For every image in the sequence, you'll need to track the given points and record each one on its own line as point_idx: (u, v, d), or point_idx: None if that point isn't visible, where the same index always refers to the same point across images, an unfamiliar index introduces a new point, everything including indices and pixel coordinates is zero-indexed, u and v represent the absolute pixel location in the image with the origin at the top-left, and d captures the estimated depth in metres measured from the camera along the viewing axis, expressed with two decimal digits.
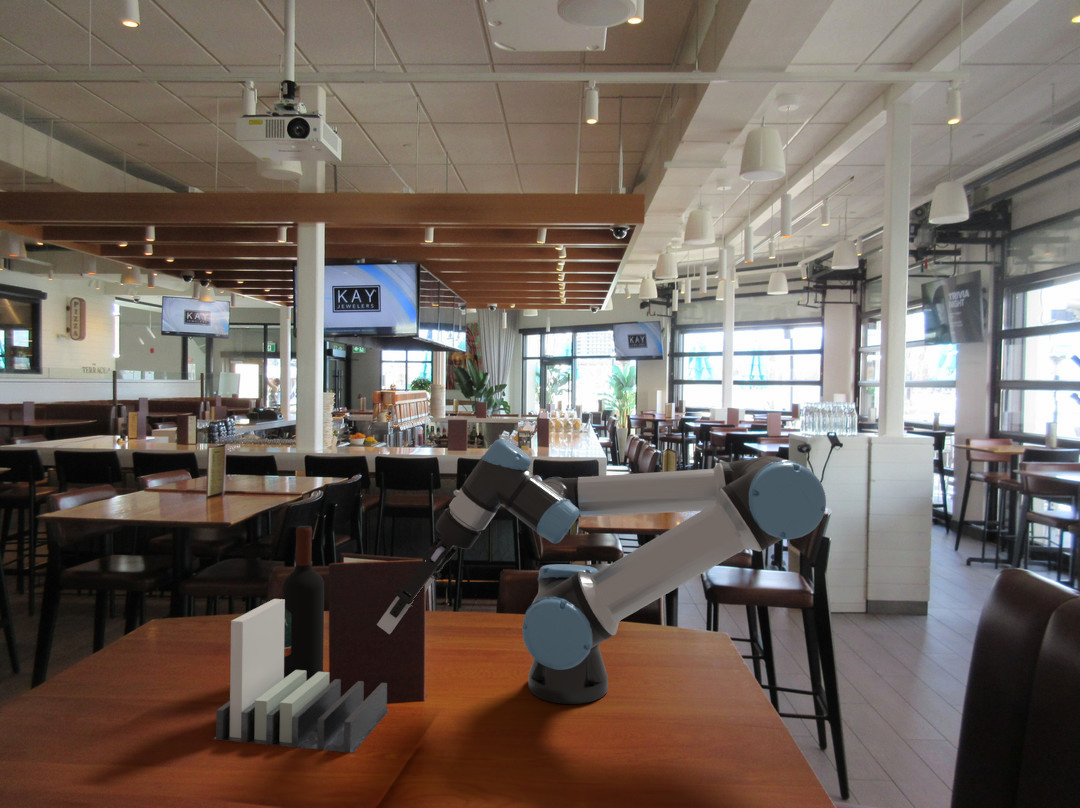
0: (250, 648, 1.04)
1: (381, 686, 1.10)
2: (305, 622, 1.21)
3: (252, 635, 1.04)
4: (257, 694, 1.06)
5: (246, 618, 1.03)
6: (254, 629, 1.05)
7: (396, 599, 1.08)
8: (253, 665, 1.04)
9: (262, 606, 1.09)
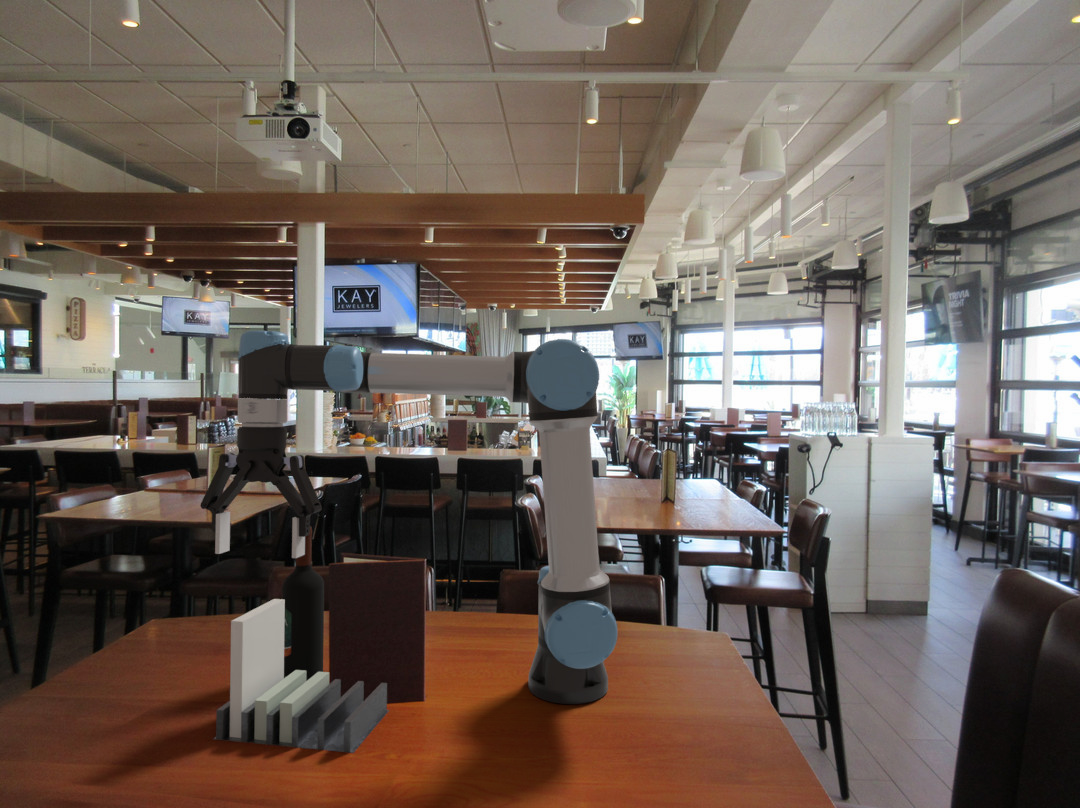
0: (250, 648, 1.04)
1: (381, 686, 1.10)
2: (306, 622, 1.21)
3: (252, 635, 1.04)
4: (257, 694, 1.06)
5: (246, 618, 1.03)
6: (254, 629, 1.05)
7: (297, 523, 1.05)
8: (253, 665, 1.04)
9: (262, 606, 1.09)
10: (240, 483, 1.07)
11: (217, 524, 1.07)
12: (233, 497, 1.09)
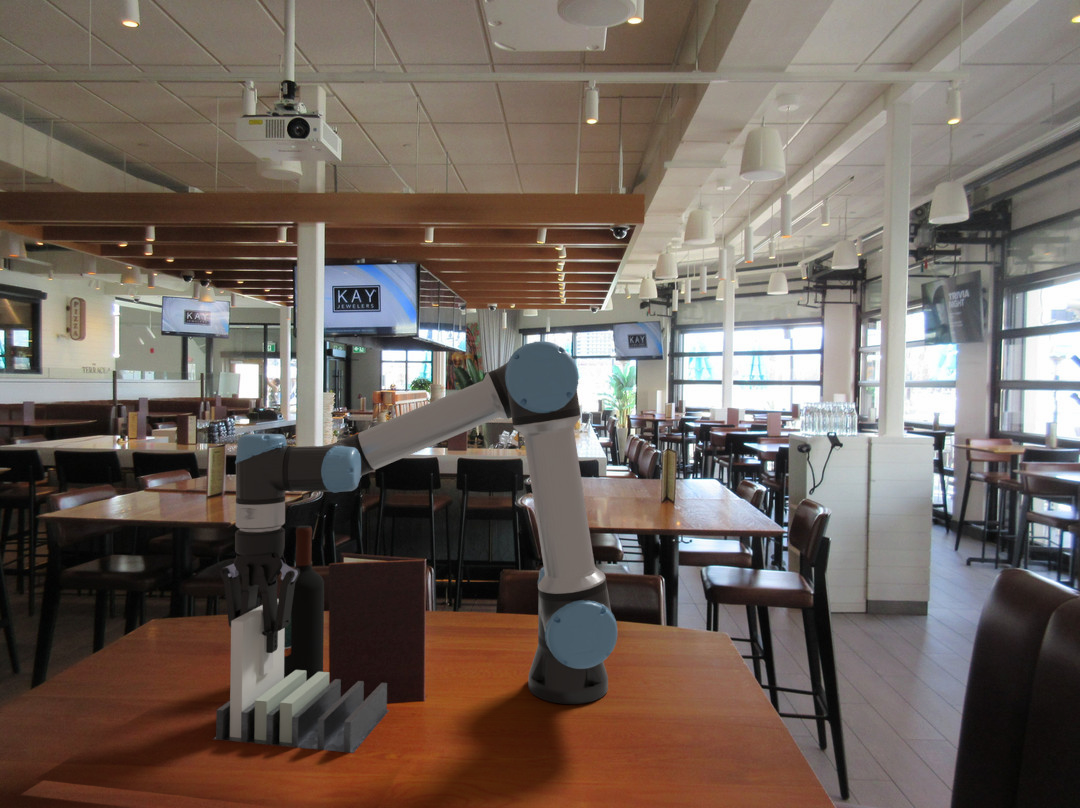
0: (250, 648, 1.04)
1: (381, 686, 1.10)
2: (306, 622, 1.21)
3: (252, 635, 1.04)
4: (258, 694, 1.06)
5: (246, 618, 1.03)
6: (254, 629, 1.05)
7: (265, 640, 1.06)
8: (253, 665, 1.04)
9: (262, 606, 1.09)
10: (250, 590, 1.07)
11: None
12: (253, 608, 1.08)
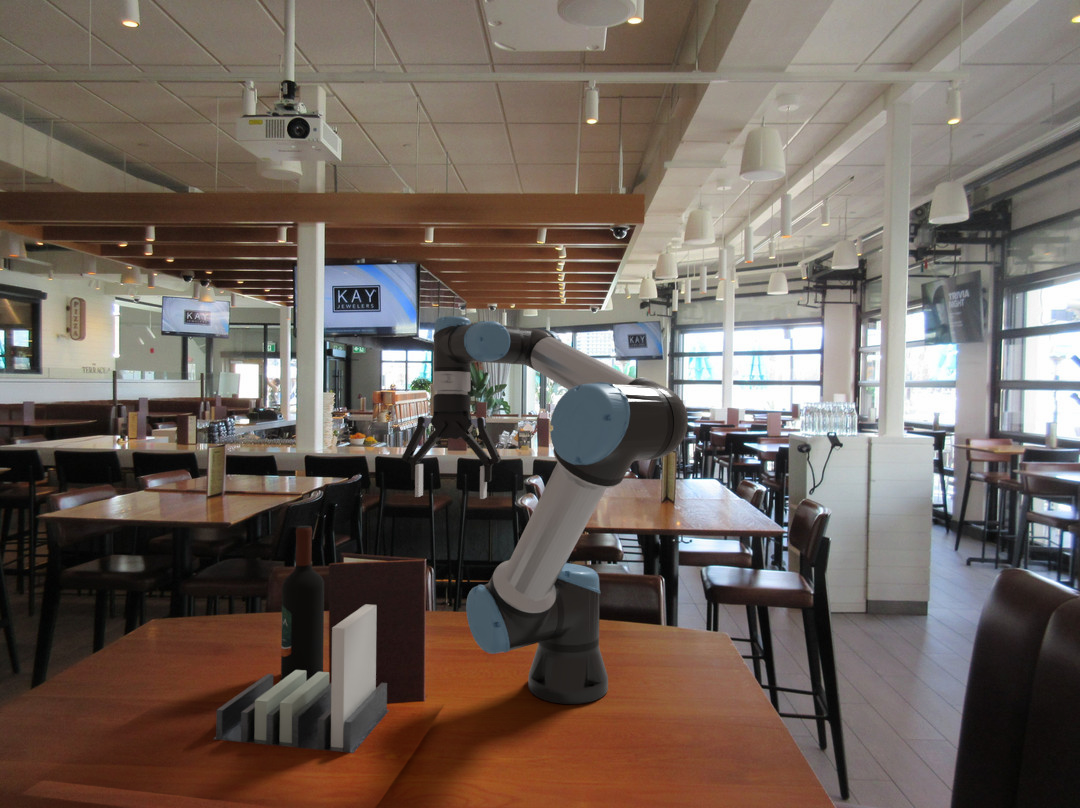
0: (350, 656, 1.01)
1: (381, 686, 1.10)
2: (306, 622, 1.21)
3: (352, 642, 1.01)
4: (355, 702, 1.03)
5: (346, 625, 1.00)
6: (353, 636, 1.02)
7: (484, 471, 1.31)
8: (352, 673, 1.02)
9: (357, 612, 1.07)
10: (435, 440, 1.33)
11: (417, 473, 1.33)
12: (427, 452, 1.35)
